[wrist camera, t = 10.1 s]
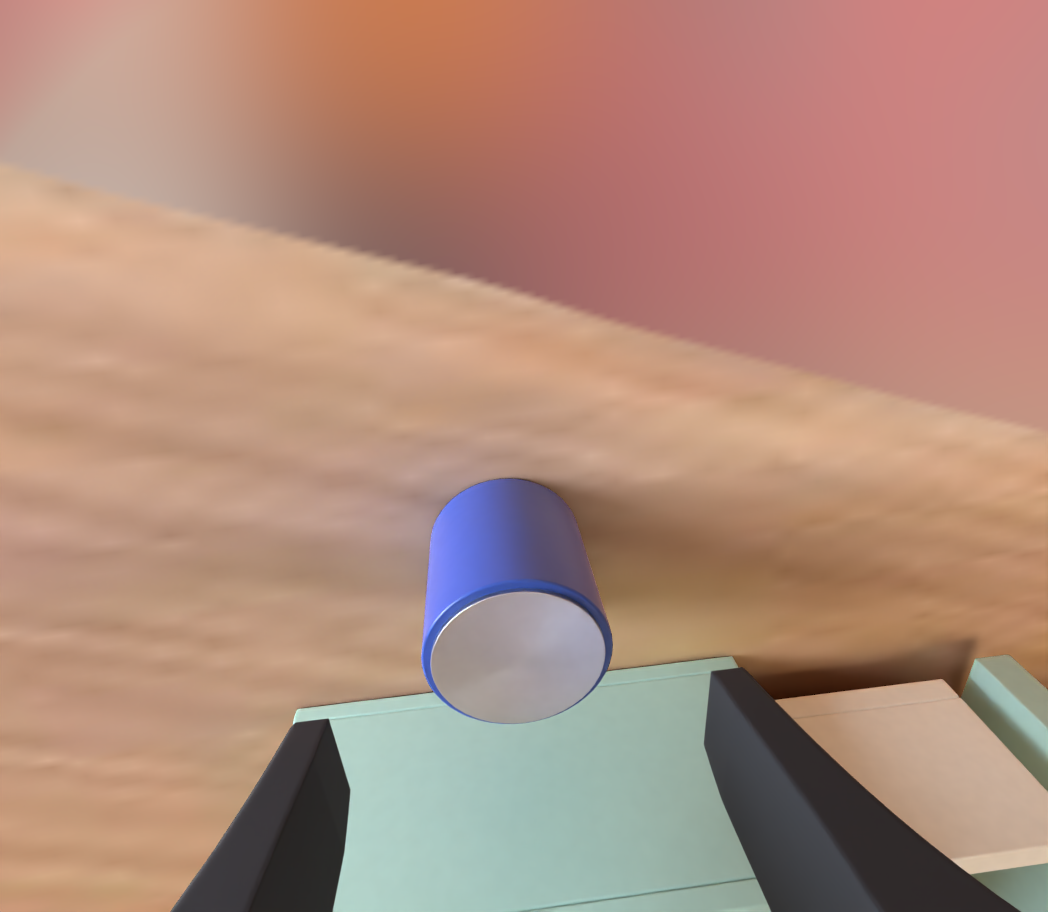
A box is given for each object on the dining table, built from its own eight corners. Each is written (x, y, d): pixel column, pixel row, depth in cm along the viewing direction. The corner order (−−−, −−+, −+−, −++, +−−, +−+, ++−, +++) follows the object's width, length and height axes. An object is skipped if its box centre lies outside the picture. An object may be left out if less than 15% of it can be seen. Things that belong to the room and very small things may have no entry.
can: (604, 509, 17) (650, 619, 13) (538, 617, 18) (559, 747, 14) (467, 455, 16) (469, 558, 12) (407, 575, 17) (391, 703, 13)
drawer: (1143, 636, 20) (1368, 794, 15) (1032, 851, 26) (1171, 1019, 21) (612, 702, 19) (665, 894, 14) (612, 911, 25) (651, 1103, 20)
